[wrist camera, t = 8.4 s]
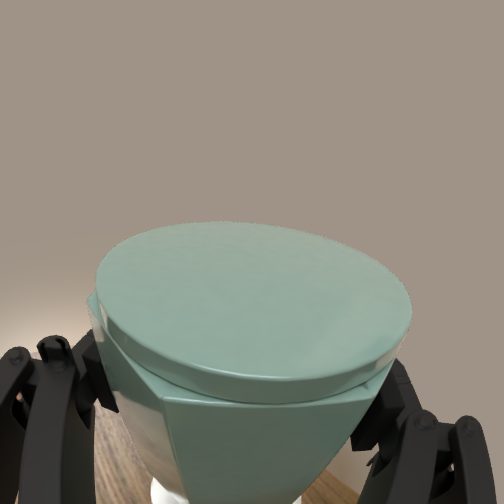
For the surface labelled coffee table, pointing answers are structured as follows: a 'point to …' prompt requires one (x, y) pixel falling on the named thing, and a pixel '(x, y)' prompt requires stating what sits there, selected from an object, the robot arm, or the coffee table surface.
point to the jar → (243, 353)
